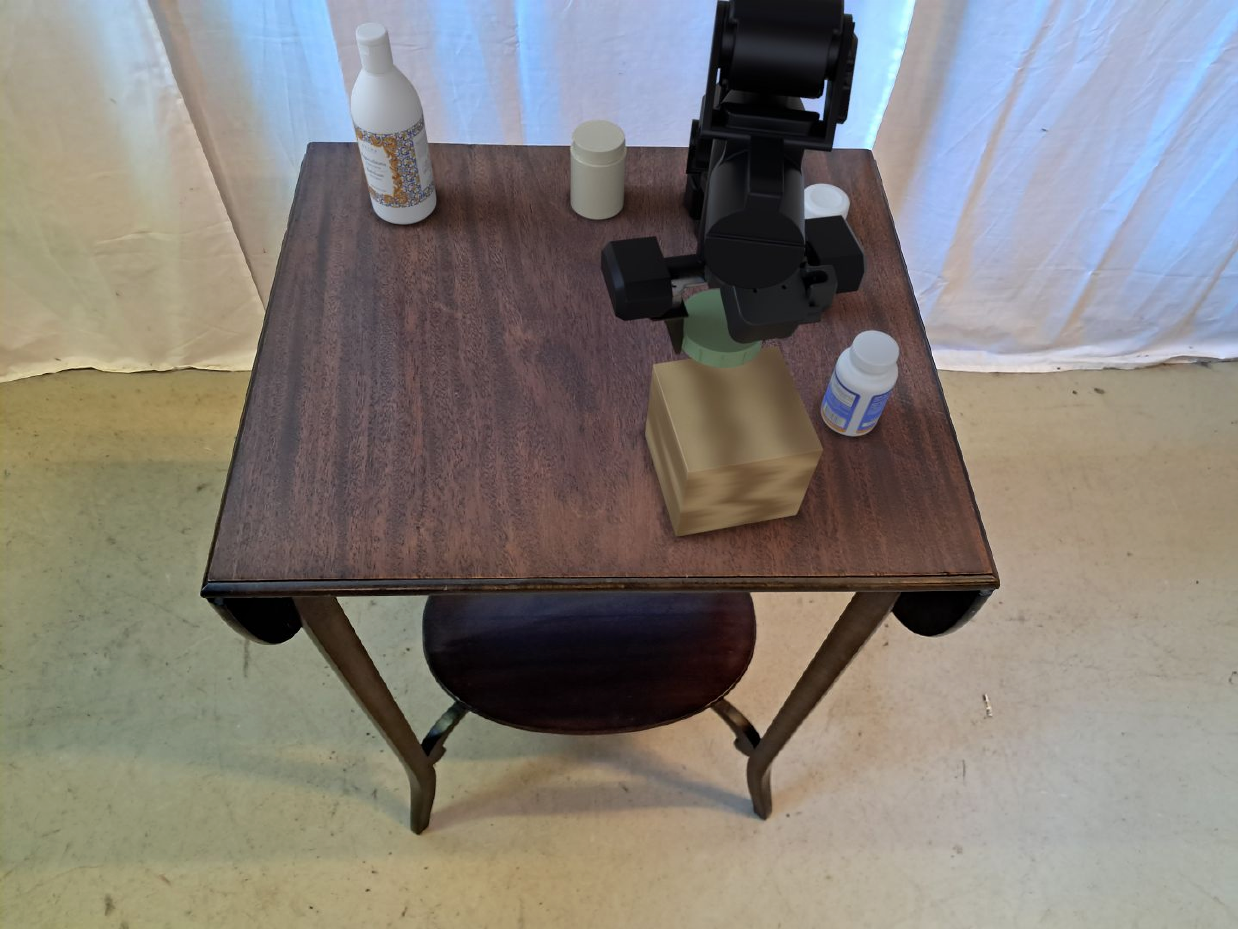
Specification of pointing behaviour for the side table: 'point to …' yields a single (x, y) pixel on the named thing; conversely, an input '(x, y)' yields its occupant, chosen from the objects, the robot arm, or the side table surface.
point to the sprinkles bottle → (825, 201)
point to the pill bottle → (861, 384)
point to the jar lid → (713, 334)
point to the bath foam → (391, 133)
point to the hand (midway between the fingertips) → (717, 344)
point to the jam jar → (597, 169)
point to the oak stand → (729, 442)
